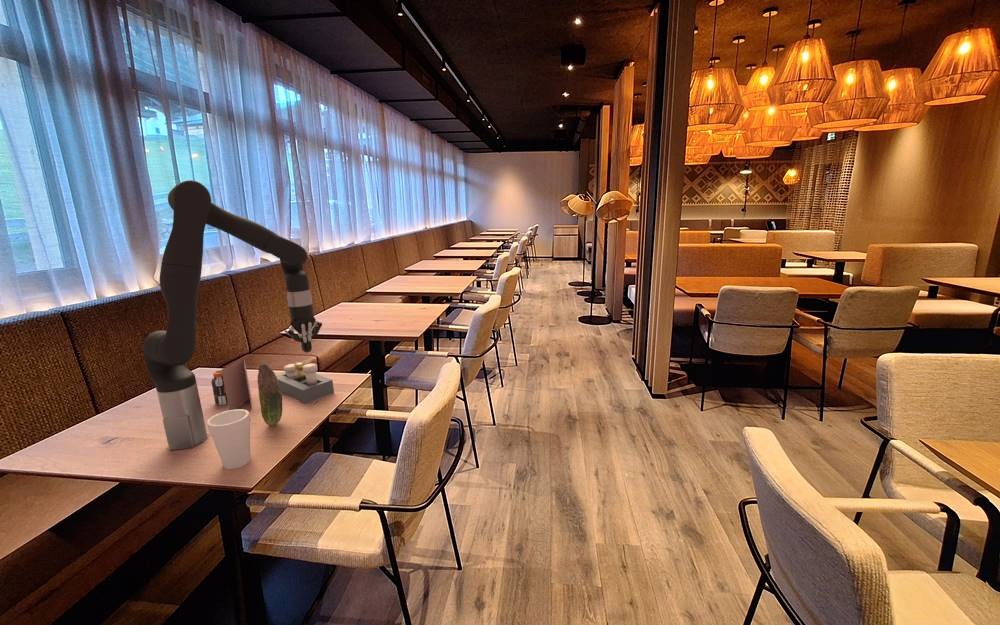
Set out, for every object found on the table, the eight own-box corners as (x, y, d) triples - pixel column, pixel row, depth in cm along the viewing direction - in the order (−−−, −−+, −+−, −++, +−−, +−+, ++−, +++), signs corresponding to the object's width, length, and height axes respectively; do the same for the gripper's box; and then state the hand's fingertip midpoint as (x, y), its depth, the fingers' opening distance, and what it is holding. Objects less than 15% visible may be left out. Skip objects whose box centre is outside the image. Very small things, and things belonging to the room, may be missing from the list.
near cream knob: (321, 383, 158) (319, 365, 157) (309, 388, 155) (307, 368, 153) (314, 381, 161) (312, 362, 160) (302, 385, 158) (300, 366, 156)
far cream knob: (302, 383, 168) (299, 365, 166) (290, 387, 164) (287, 369, 162) (296, 380, 170) (293, 363, 169) (284, 384, 167) (281, 366, 165)
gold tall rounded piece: (309, 379, 163) (307, 362, 161) (300, 383, 160) (297, 365, 158) (304, 377, 165) (301, 360, 163) (294, 380, 162) (292, 363, 161)
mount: (334, 392, 161) (332, 379, 160) (305, 403, 152) (303, 390, 151) (302, 380, 174) (300, 367, 173) (274, 389, 166) (272, 376, 165)
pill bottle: (228, 405, 153) (222, 374, 151) (211, 405, 154) (205, 374, 151) (238, 398, 159) (233, 368, 157) (222, 398, 159) (216, 368, 157)
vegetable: (262, 422, 140) (252, 362, 135) (284, 417, 143) (275, 358, 138) (264, 430, 135) (253, 368, 130) (287, 424, 138) (277, 363, 133)
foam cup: (263, 452, 123) (255, 408, 120) (246, 471, 114) (237, 425, 111) (228, 453, 122) (220, 410, 119) (208, 473, 113) (198, 426, 110)
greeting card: (249, 397, 159) (241, 357, 156) (268, 397, 159) (261, 357, 155) (227, 412, 148) (218, 369, 145) (248, 412, 148) (240, 369, 144)
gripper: (286, 308, 144) (294, 359, 148) (324, 300, 154) (330, 348, 158) (275, 306, 148) (283, 355, 153) (312, 298, 158) (319, 344, 163)
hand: (307, 351), depth 155 cm, fingers closed
